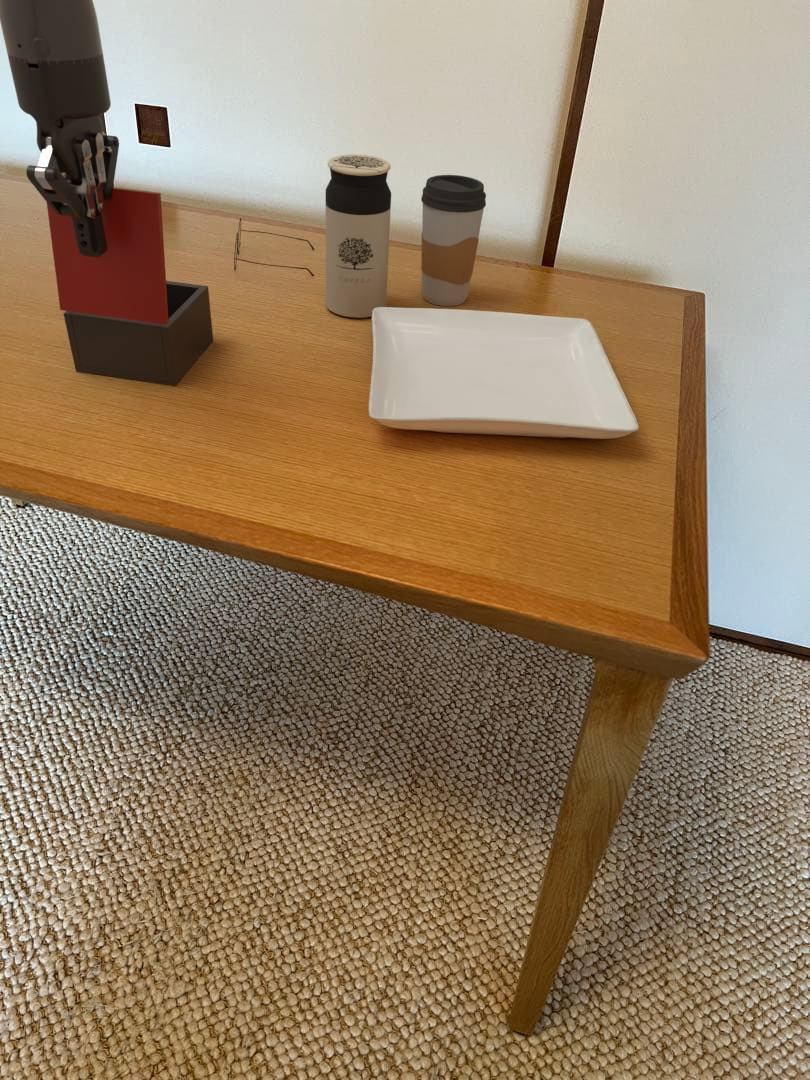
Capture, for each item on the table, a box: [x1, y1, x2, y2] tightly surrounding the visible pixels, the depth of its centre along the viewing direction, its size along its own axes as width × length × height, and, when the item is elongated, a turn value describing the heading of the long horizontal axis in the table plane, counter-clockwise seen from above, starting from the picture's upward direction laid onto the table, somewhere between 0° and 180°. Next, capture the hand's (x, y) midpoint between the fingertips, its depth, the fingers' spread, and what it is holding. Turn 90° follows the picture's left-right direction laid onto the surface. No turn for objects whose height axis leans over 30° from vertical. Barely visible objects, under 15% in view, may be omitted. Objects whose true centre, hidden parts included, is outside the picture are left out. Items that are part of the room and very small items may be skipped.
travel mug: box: [325, 154, 392, 319], centre depth 102 cm, size 8×8×18 cm
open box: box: [63, 280, 214, 387], centre depth 92 cm, size 12×12×7 cm
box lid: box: [46, 186, 168, 324], centre depth 82 cm, size 13×12×1 cm
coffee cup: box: [420, 174, 487, 307], centre depth 107 cm, size 8×8×15 cm
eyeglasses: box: [233, 217, 315, 277], centre depth 117 cm, size 11×13×5 cm
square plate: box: [368, 306, 640, 440], centre depth 91 cm, size 27×27×4 cm
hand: (93, 253), depth 79 cm, fingers closed
